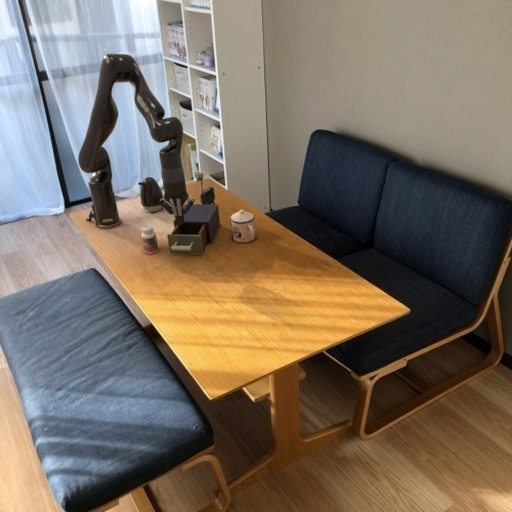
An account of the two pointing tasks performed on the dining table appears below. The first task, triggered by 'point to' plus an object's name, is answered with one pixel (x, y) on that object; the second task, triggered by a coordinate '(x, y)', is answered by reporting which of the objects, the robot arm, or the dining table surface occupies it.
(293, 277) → the dining table surface
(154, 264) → the dining table surface
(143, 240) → the pill bottle
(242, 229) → the teacup with lid
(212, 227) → the cabinet
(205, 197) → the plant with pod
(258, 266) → the dining table surface
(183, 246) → the drawer
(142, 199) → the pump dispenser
